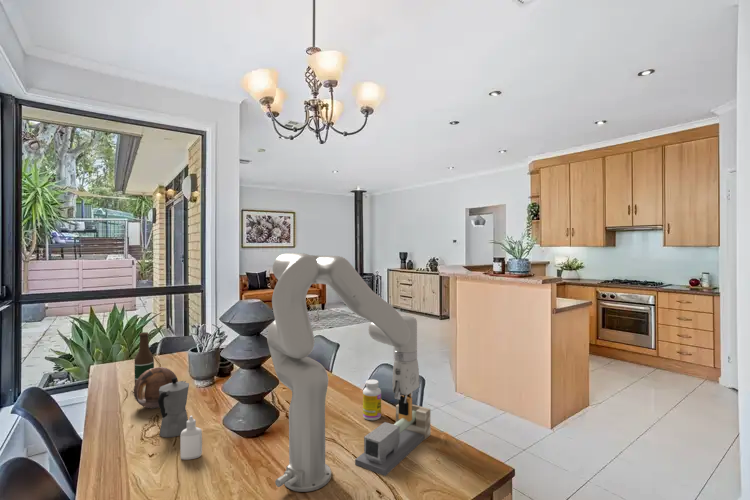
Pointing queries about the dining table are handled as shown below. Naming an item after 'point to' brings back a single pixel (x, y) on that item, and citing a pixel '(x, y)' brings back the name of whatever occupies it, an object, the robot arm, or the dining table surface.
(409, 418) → the orange upright peg
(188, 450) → the eye dropper bottle
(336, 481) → the dining table surface
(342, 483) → the dining table surface
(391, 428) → the sleeve
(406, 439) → the base board
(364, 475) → the dining table surface
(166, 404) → the coffeepot
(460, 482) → the dining table surface
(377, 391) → the supplement bottle
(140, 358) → the beer bottle
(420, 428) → the socket block
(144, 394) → the wooden sphere
